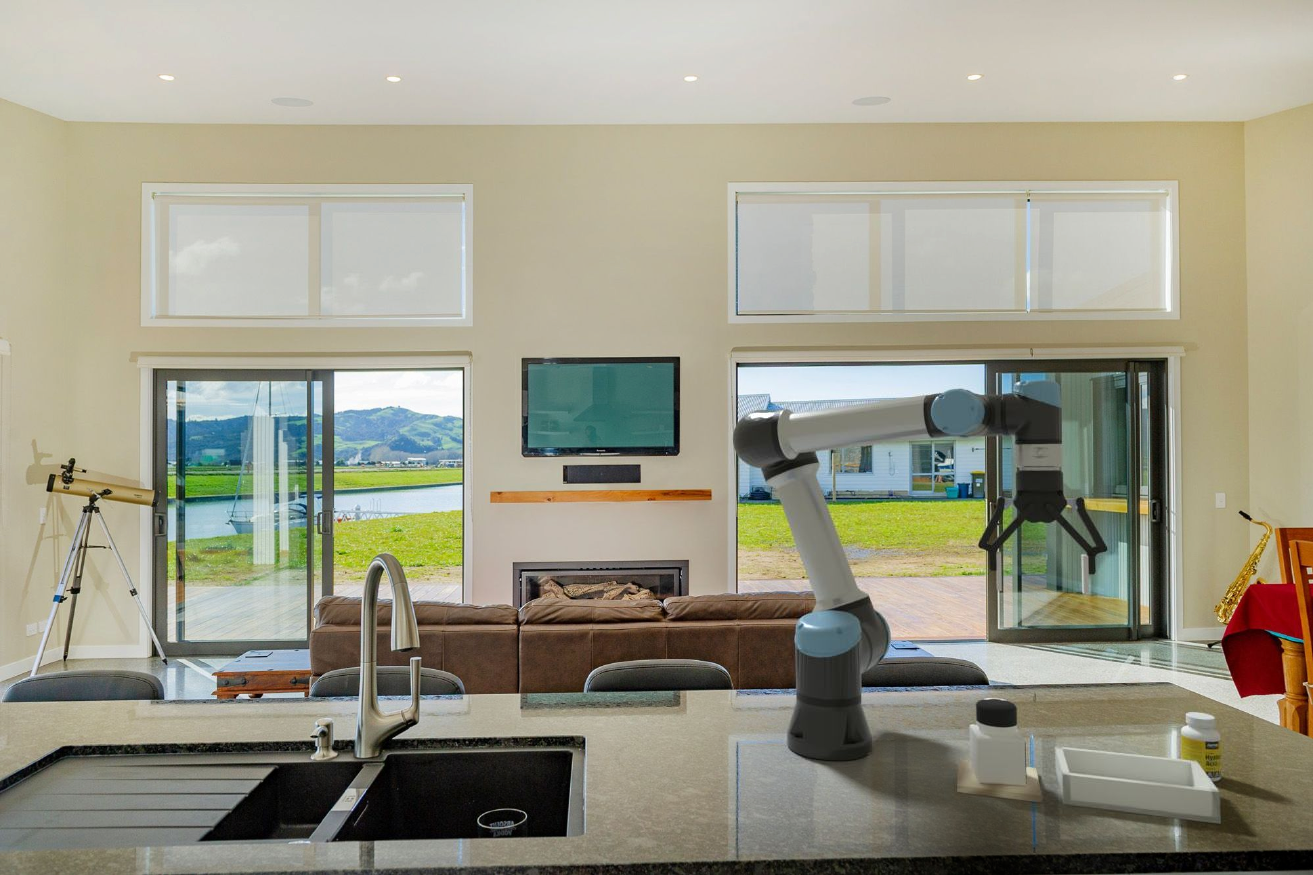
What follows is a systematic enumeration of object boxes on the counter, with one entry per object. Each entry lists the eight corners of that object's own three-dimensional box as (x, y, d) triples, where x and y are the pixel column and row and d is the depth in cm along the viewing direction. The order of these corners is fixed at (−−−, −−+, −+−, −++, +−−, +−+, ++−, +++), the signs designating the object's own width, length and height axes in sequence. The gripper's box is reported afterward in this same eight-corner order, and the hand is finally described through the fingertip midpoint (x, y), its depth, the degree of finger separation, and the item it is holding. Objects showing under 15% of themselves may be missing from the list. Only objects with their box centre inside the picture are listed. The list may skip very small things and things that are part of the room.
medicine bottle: (1027, 786, 128) (1025, 708, 128) (978, 783, 129) (977, 706, 129) (1015, 769, 135) (1014, 695, 135) (969, 767, 136) (968, 693, 136)
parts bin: (1063, 803, 124) (1062, 774, 124) (1055, 773, 136) (1054, 746, 136) (1220, 823, 117) (1219, 792, 117) (1197, 789, 129) (1196, 760, 129)
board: (957, 791, 129) (957, 785, 129) (958, 765, 140) (958, 759, 140) (1041, 802, 124) (1041, 795, 124) (1036, 774, 136) (1036, 767, 136)
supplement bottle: (1209, 785, 130) (1207, 722, 131) (1174, 773, 135) (1172, 713, 135) (1228, 778, 133) (1227, 717, 133) (1193, 767, 138) (1192, 708, 138)
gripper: (962, 469, 145) (964, 591, 144) (1123, 469, 136) (1127, 598, 135) (962, 469, 152) (965, 585, 151) (1116, 468, 143) (1119, 591, 142)
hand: (1041, 591), depth 143 cm, fingers open, 13 cm apart
